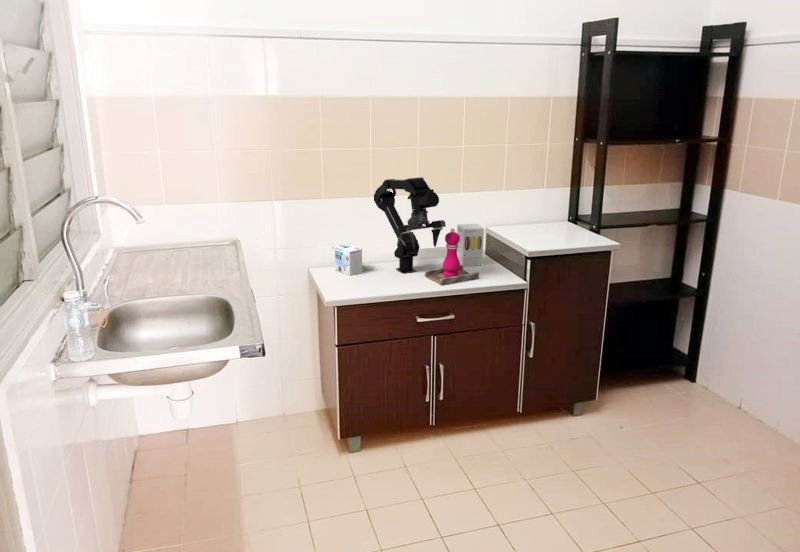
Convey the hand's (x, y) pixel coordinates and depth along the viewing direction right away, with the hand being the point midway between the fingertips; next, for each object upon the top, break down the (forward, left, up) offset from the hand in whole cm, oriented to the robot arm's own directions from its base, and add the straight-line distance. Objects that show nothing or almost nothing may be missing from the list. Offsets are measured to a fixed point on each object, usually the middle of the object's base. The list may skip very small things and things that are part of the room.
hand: (424, 247), depth 250 cm
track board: (+4, +11, -13) cm, 17 cm away
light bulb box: (-23, -23, -13) cm, 35 cm away
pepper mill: (+4, +11, -13) cm, 17 cm away
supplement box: (-10, +29, -13) cm, 33 cm away
